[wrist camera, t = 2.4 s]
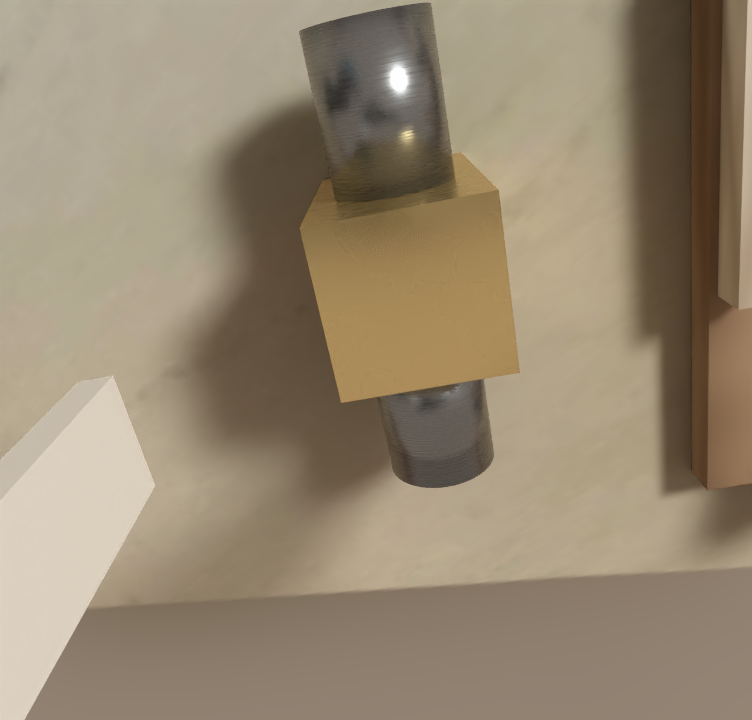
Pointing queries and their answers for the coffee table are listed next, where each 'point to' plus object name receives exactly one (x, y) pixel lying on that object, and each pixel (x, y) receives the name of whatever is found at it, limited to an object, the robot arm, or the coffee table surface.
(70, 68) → the coffee table surface
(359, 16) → the universal joint
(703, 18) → the coupling cradle
